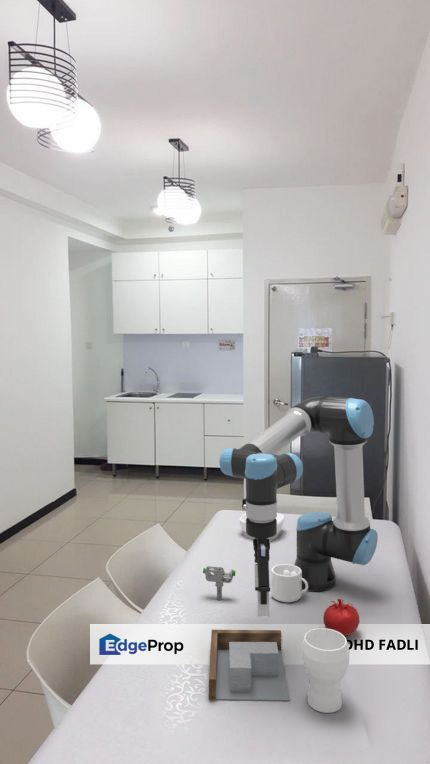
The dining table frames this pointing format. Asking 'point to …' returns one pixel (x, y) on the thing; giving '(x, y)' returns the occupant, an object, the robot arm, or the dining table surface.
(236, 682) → the bracket
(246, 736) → the dining table surface
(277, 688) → the slate mat
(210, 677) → the corner walls
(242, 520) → the bowl
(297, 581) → the mug
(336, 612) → the pomegranate
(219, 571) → the mechanical component
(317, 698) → the cup
